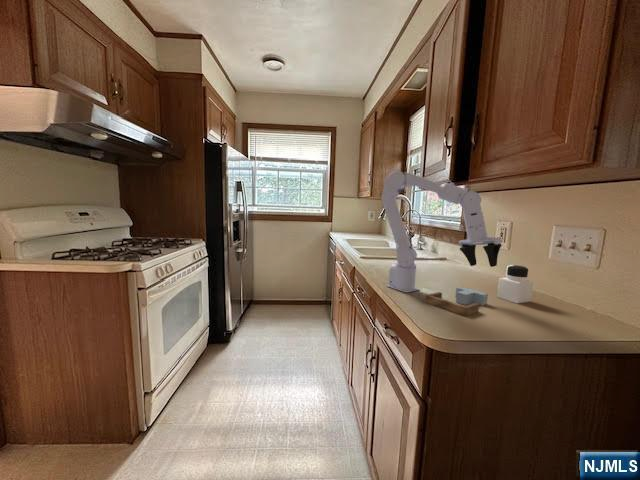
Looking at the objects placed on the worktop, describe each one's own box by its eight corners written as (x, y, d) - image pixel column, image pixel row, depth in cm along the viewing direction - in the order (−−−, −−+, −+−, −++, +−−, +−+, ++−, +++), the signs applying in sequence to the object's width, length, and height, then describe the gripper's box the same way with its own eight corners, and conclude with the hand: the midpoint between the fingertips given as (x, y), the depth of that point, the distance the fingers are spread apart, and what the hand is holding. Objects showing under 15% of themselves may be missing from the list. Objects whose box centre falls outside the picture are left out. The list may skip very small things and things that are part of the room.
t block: (447, 299, 93) (448, 289, 92) (459, 296, 97) (460, 286, 97) (474, 308, 85) (475, 297, 85) (486, 304, 90) (487, 293, 89)
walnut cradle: (425, 302, 89) (426, 295, 89) (438, 298, 93) (438, 292, 93) (465, 316, 78) (466, 308, 78) (478, 311, 82) (479, 304, 82)
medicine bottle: (530, 301, 94) (535, 267, 92) (517, 303, 91) (521, 268, 90) (510, 295, 100) (513, 263, 99) (496, 297, 98) (500, 264, 96)
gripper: (504, 221, 87) (512, 263, 87) (466, 226, 100) (473, 262, 100) (488, 225, 84) (497, 268, 84) (451, 230, 98) (459, 267, 98)
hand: (483, 265), depth 92 cm, fingers open, 7 cm apart
